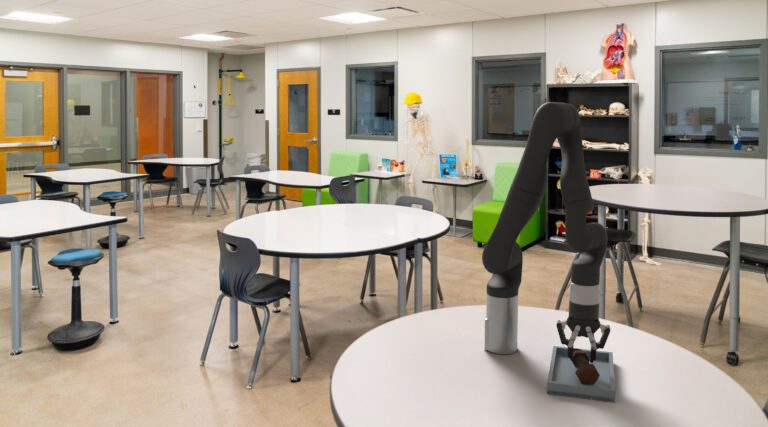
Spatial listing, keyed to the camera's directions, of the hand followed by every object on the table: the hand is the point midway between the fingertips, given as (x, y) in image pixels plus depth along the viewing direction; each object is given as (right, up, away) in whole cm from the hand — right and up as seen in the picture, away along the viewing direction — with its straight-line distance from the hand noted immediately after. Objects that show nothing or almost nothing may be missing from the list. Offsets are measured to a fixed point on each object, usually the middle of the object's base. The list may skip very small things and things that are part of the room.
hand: (581, 360), depth 159 cm
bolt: (0, -3, 0) cm, 3 cm away
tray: (0, -5, +1) cm, 5 cm away
